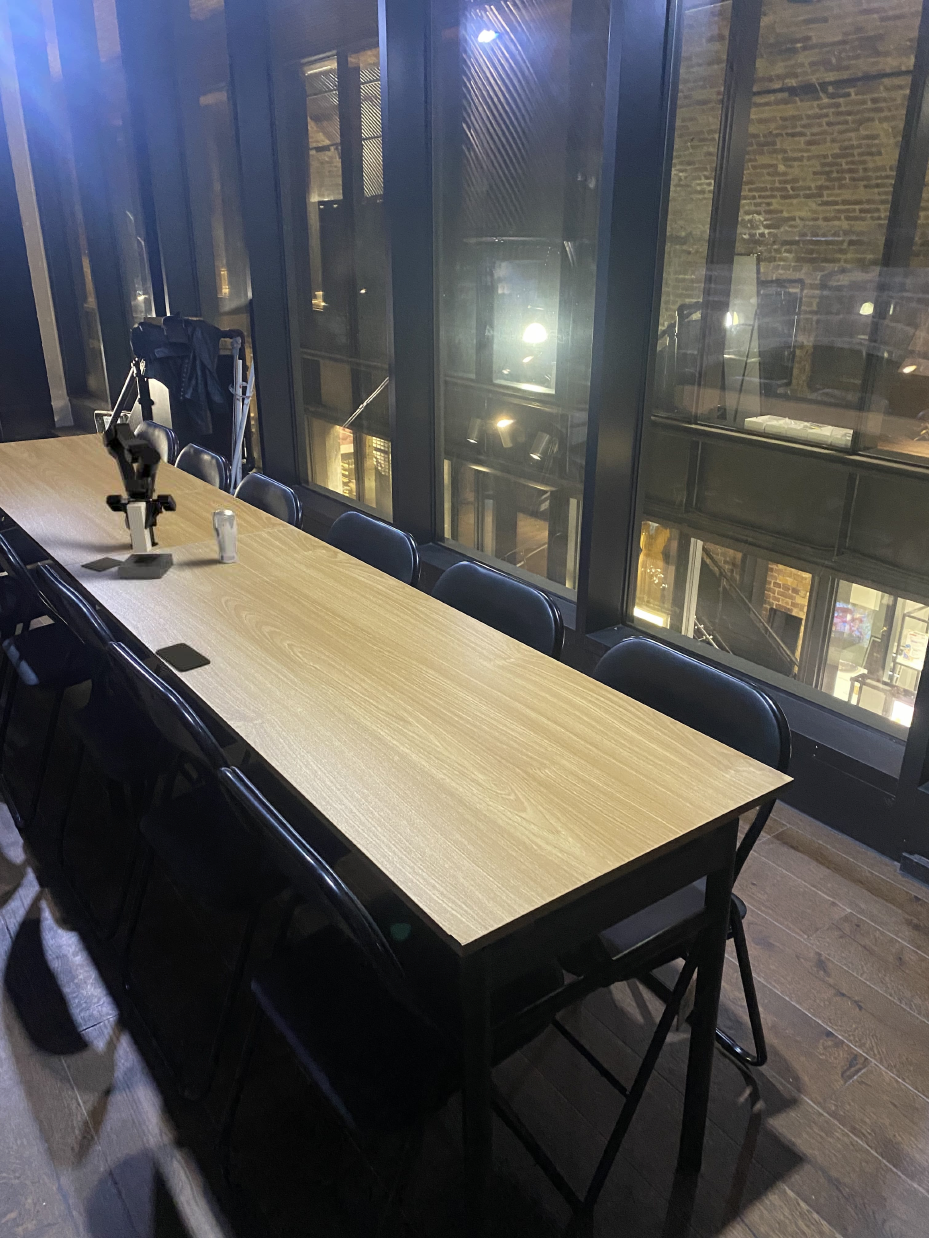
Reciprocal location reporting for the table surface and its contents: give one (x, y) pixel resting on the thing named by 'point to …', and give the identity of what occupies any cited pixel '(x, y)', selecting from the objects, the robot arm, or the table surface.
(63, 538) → the table surface
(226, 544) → the beer glass
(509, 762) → the table surface
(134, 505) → the peg
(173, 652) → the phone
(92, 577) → the table surface
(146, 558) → the socket block
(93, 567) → the mat
